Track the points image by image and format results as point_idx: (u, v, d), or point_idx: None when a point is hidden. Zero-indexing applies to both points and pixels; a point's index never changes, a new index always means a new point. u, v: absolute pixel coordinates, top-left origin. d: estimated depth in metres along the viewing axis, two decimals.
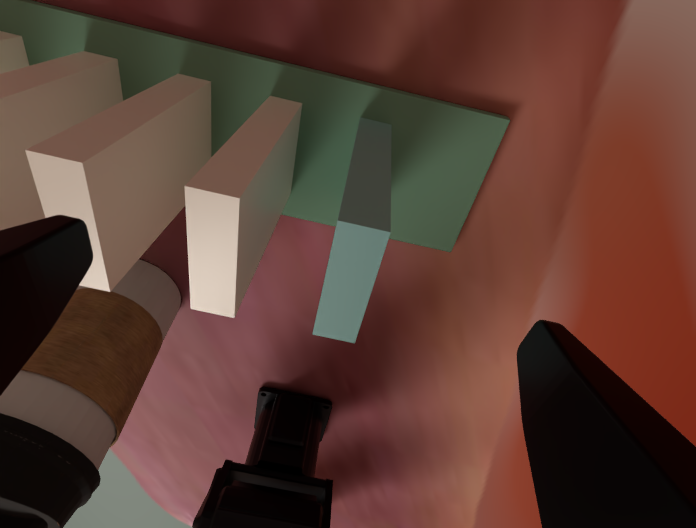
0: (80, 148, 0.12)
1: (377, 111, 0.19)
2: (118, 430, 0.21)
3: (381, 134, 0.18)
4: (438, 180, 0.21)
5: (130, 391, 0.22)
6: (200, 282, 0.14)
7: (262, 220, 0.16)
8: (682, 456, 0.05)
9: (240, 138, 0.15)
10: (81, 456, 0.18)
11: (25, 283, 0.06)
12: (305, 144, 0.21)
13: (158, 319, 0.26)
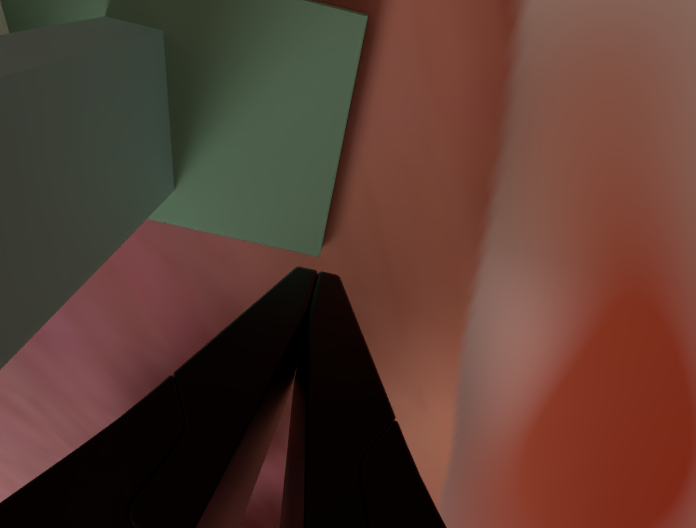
0: None
1: (131, 4, 0.11)
2: None
3: (110, 34, 0.10)
4: (270, 136, 0.13)
5: None
6: None
7: None
8: (351, 389, 0.05)
9: None
10: None
11: (300, 340, 0.06)
12: None
13: None
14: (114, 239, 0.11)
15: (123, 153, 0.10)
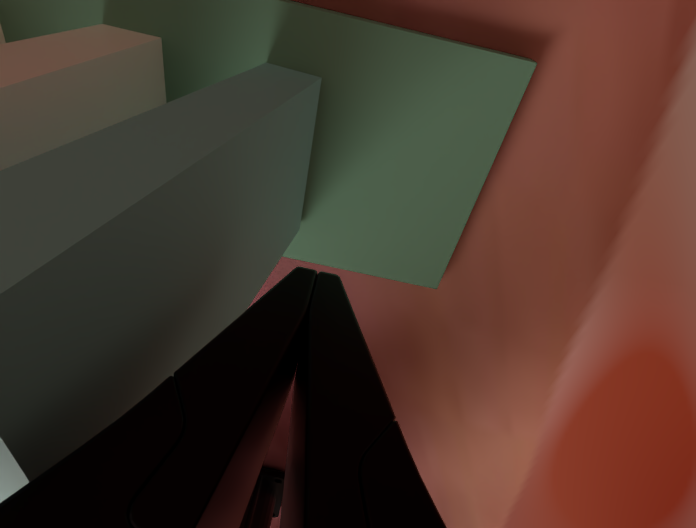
0: None
1: (296, 51, 0.11)
2: None
3: (282, 85, 0.10)
4: (411, 175, 0.13)
5: None
6: None
7: None
8: (351, 388, 0.05)
9: None
10: None
11: (300, 340, 0.06)
12: None
13: None
14: (256, 285, 0.11)
15: (276, 202, 0.10)
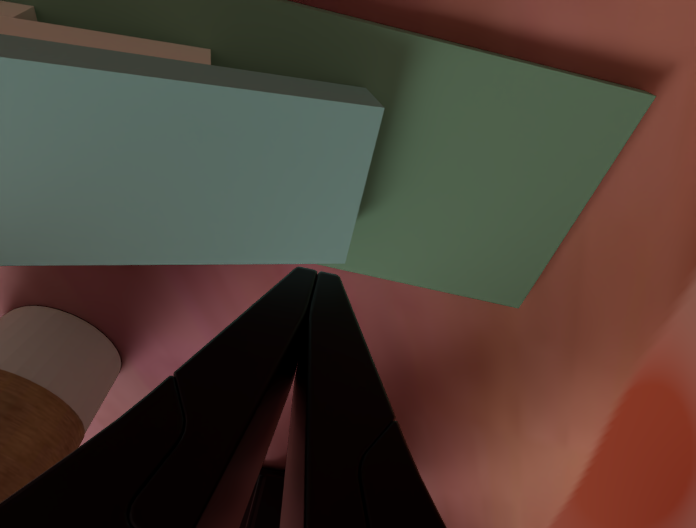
0: None
1: (416, 81, 0.11)
2: None
3: (314, 92, 0.10)
4: (512, 200, 0.13)
5: None
6: None
7: None
8: (351, 388, 0.05)
9: None
10: None
11: (299, 340, 0.06)
12: None
13: (74, 402, 0.17)
14: (226, 254, 0.11)
15: (266, 192, 0.11)
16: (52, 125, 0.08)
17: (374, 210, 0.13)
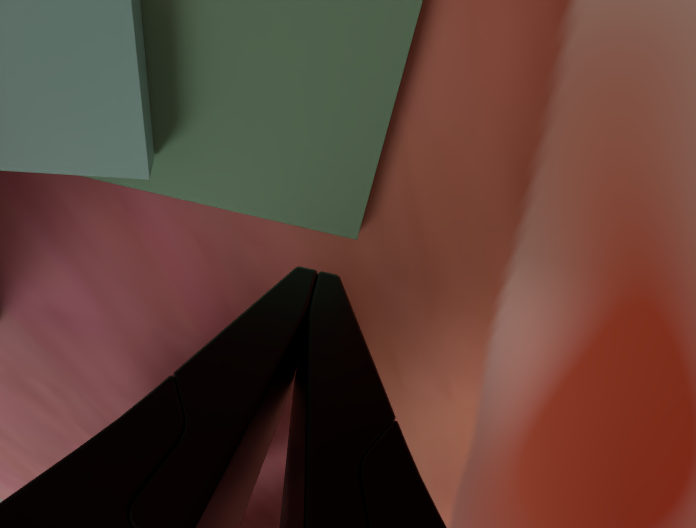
0: None
1: None
2: None
3: None
4: (317, 115, 0.13)
5: None
6: None
7: None
8: (351, 389, 0.05)
9: None
10: None
11: (300, 340, 0.06)
12: None
13: None
14: (4, 159, 0.11)
15: (25, 88, 0.10)
16: None
17: (187, 129, 0.13)
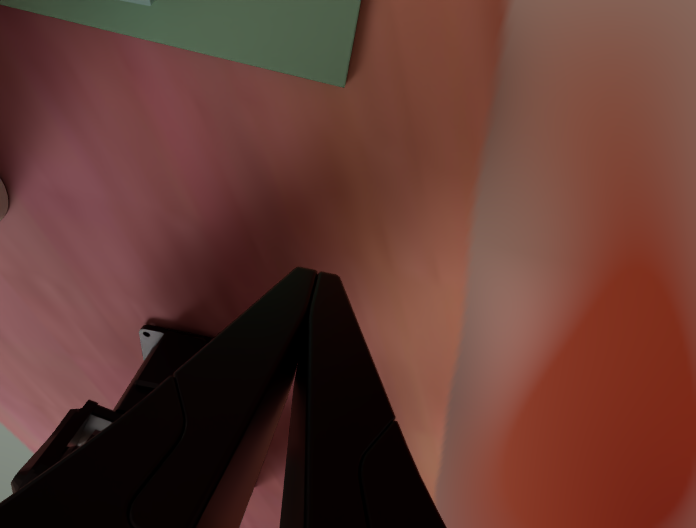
0: None
1: None
2: None
3: None
4: None
5: None
6: None
7: None
8: (351, 388, 0.05)
9: None
10: None
11: (299, 340, 0.06)
12: None
13: None
14: None
15: None
16: None
17: None
